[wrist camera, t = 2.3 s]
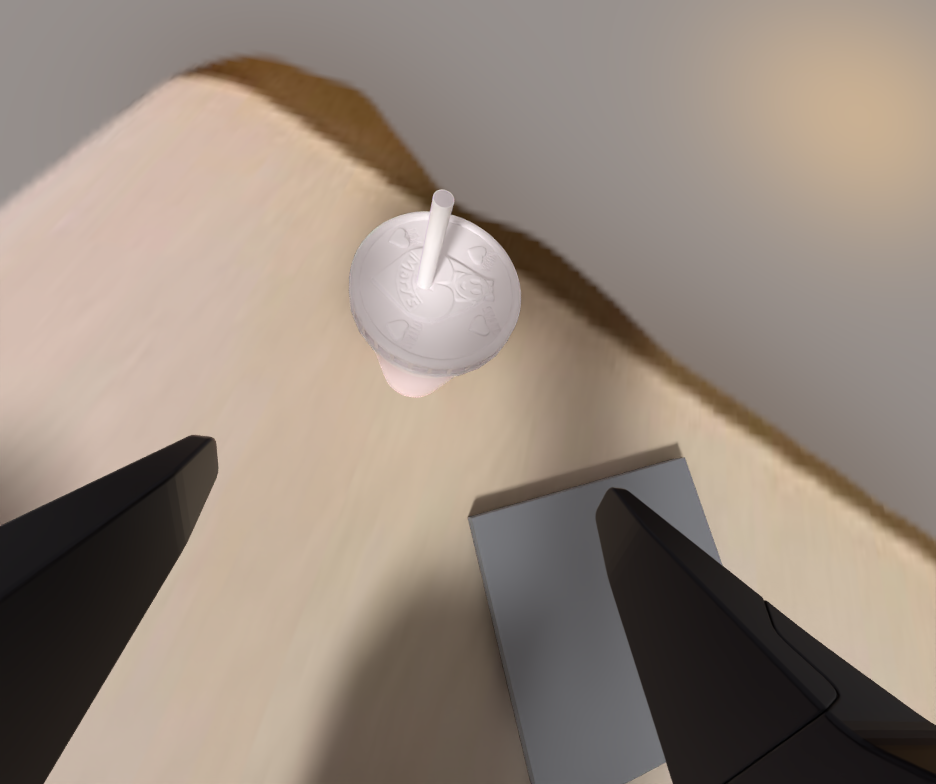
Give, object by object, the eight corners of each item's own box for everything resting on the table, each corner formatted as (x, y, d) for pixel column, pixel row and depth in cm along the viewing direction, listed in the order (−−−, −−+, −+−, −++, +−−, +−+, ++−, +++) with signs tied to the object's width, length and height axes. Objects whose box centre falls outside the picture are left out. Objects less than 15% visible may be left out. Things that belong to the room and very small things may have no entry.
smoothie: (360, 312, 24) (342, 80, 10) (466, 320, 25) (568, 123, 12) (355, 419, 22) (327, 305, 9) (469, 421, 24) (590, 325, 10)
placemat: (537, 809, 19) (545, 825, 18) (467, 517, 22) (471, 518, 21) (755, 697, 23) (771, 706, 22) (673, 458, 26) (684, 457, 25)
